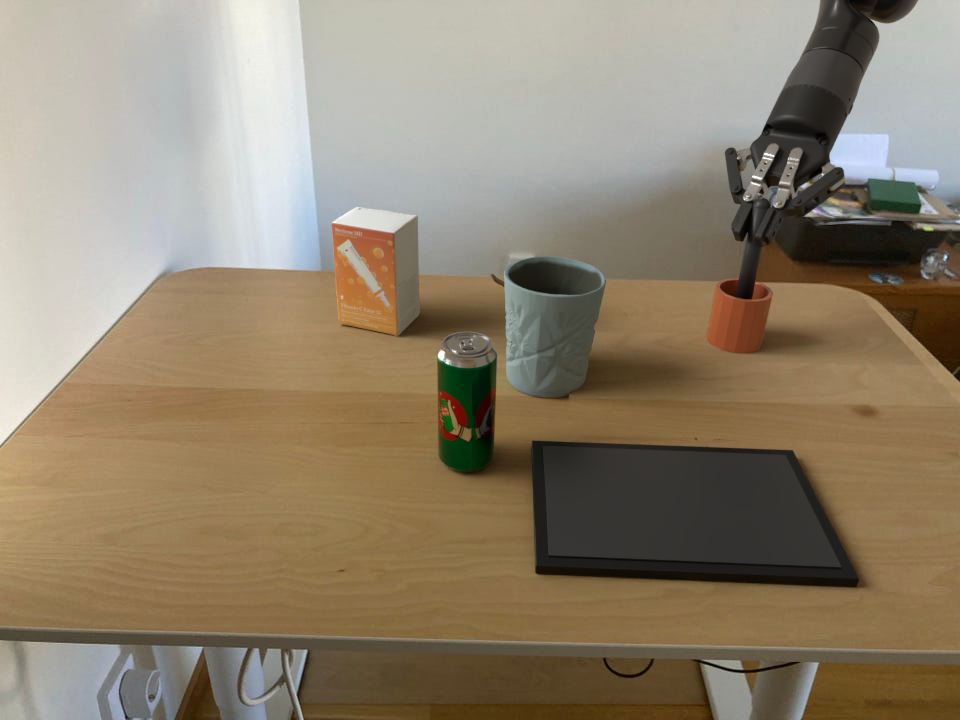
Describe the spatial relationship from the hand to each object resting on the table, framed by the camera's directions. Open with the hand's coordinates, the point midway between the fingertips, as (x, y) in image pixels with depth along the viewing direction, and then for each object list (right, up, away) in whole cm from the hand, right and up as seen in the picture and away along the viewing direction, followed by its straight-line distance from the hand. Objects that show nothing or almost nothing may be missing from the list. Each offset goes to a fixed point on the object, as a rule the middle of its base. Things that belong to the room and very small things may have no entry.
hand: (748, 240), depth 83 cm
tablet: (-12, -25, -18) cm, 33 cm away
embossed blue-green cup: (-21, -15, +1) cm, 26 cm away
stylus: (+1, -7, +6) cm, 9 cm away
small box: (-41, -8, +12) cm, 43 cm away
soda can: (-30, -22, -12) cm, 39 cm away
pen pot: (+1, -11, +8) cm, 14 cm away
